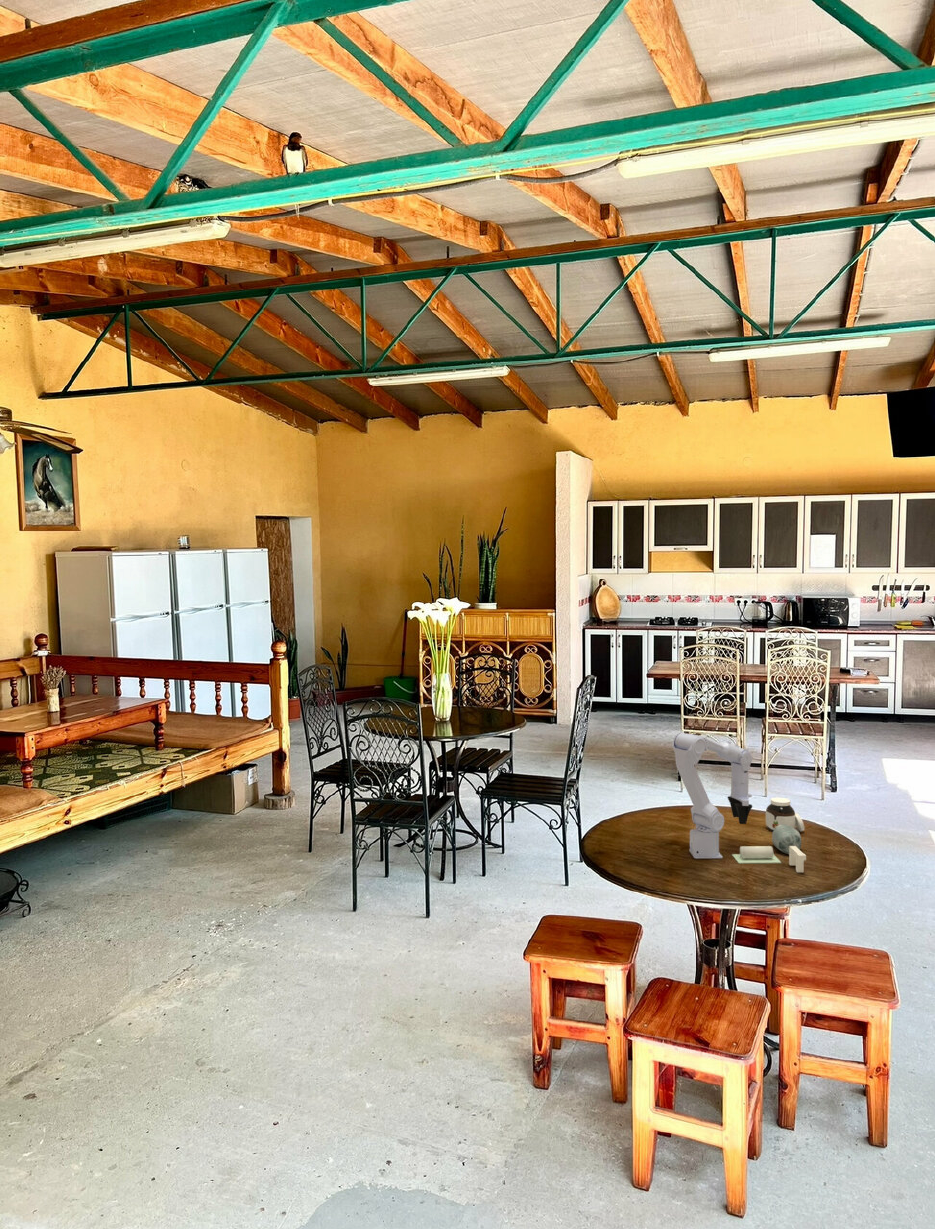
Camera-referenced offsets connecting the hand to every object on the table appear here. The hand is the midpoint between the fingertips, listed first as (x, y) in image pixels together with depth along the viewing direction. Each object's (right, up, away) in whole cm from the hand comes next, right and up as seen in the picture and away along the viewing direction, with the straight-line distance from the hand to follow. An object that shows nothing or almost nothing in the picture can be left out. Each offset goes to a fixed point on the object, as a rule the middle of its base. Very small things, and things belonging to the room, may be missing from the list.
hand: (739, 820), depth 304 cm
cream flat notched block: (+12, -11, -22) cm, 27 cm away
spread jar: (+22, -8, +17) cm, 29 cm away
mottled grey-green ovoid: (+15, -10, -4) cm, 18 cm away
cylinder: (+2, -10, -12) cm, 16 cm away
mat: (+2, -10, -12) cm, 16 cm away
